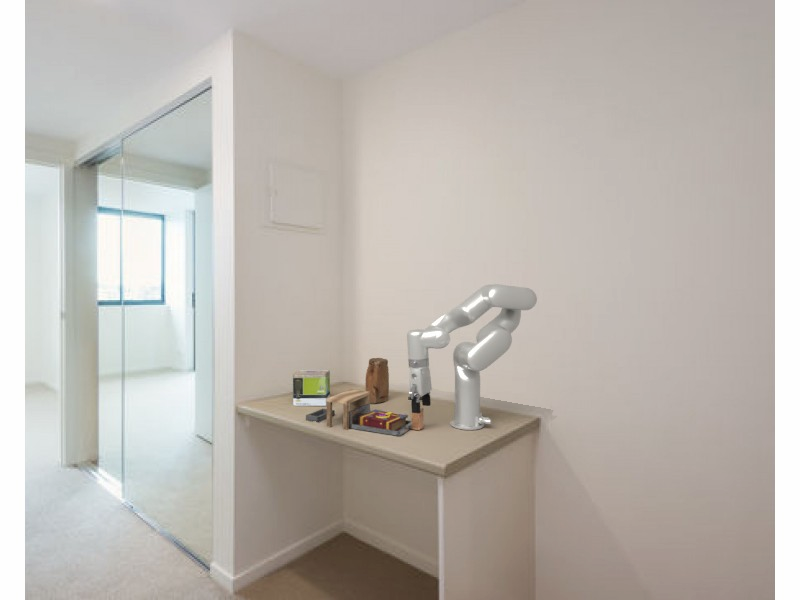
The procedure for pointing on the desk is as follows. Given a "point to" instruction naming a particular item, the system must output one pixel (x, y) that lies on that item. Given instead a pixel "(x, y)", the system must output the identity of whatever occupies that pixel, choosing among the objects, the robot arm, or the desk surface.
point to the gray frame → (318, 415)
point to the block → (377, 380)
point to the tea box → (311, 387)
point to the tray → (364, 409)
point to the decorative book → (383, 420)
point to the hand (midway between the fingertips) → (421, 409)
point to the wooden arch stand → (347, 404)
